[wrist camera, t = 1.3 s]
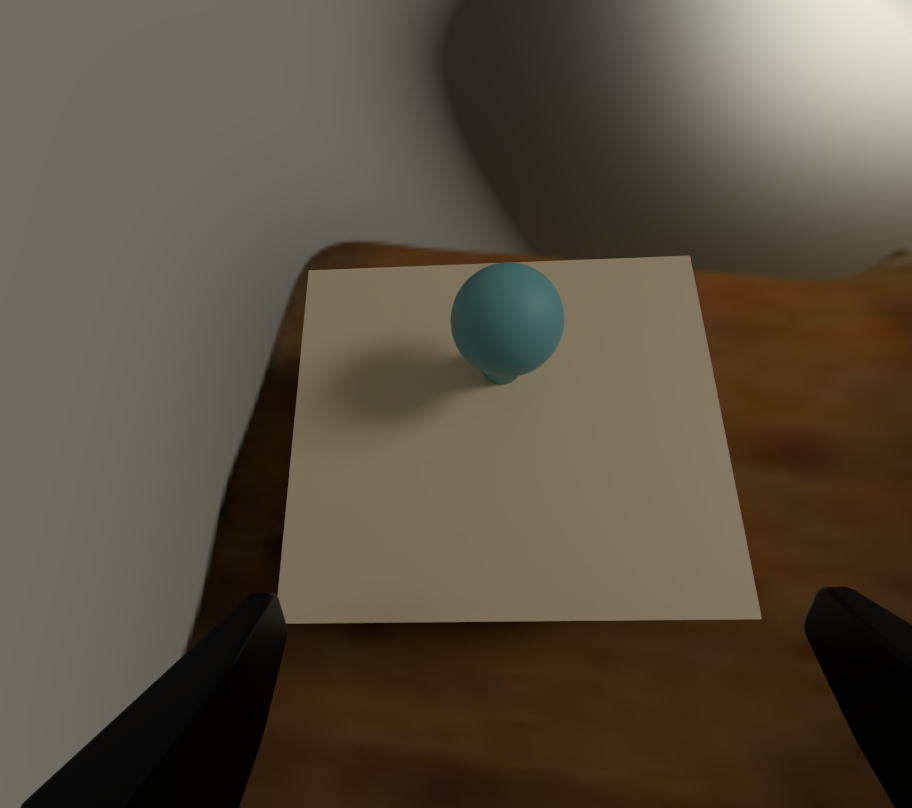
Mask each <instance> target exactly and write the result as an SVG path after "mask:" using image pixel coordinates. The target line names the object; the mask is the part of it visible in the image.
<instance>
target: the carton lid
mask: <svg viewBox="0 0 912 808" xmlns="http://www.w3.org/2000/svg"><path fill="white" fill-rule="evenodd" d="M278 598H279V601H280V604H281V608H282V611H283V614H284V618H285V621H286V624H298V623H403V622H508V621H614V620H719V619H762V618H761V613H760V608H759V603H758V598H757V592H756V587H755V582H754V577H753V572H752V567H751V562H750V557H749V552H748V547H747V542H746V537H745V532H744V527H743V522H742V517H741V512H740V507H739V501H738V496H737V491H736V486H735V481H734V476H733V471H732V466H731V461H730V456H729V451H728V446H727V441H726V436H725V431H724V426H723V421H722V416H721V410H720V405H719V400H718V395H717V390H716V385H715V380H714V375H713V370H712V365H711V360H710V355H709V350H708V345H707V340H706V335H705V330H704V325H703V319H702V314H701V309H700V304H699V299H698V294H697V289H696V284H695V279H694V274H693V269H692V264H691V259H690V256H671V257H645V258H619V259H593V260H567V261H542V262H516V263H513V262H505V263H490V264H464V265H439V266H413V267H387V268H361V269H336V270H310V271H309V274H308V285H307V295H306V306H305V316H304V326H303V337H302V347H301V357H300V368H299V378H298V389H297V399H296V409H295V420H294V430H293V441H292V451H291V461H290V472H289V482H288V492H287V503H286V513H285V524H284V534H283V544H282V555H281V565H280V575H279V586H278Z"/></svg>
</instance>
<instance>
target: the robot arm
mask: <svg viewBox="0 0 912 808" xmlns="http://www.w3.org/2000/svg"><path fill="white" fill-rule="evenodd" d="M804 629H805V633H806V636H807V639H808V641H809V643H810V645H811V647H812V649H813V651H814V654H815V656H816V658H817V660H818V662H819V664H820V666H821V668H822V671H823V673H824V675H825V677H826V679H827V681H828V683H829V685H830V687H831V690H832V692H833V694H834V696H835V698H836V700H837V702H838V704H839V707H840V709H841V711H842V713H843V715H844V717H845V719H846V721H847V723H848V725H849V727H850V729H851V731H852V733H853V735H854V737H855V739H856V741H857V743H858V744H859V746H860V748H861V750H862V752H863V753H864V755H865V757H866V759H867V760H868V762H869V764H870V766H871V767H872V769H873V771H874V772H875V774H876V776H877V778H878V779H879V781H880V783H881V784H882V786H883V788H884V790H885V791H886V793H887V795H888V797H889V798H890V800H891V802H892V803H893V805H894V807H895V808H912V625H911V624H909V623H907V622H906V621H904V620H903V619H901V618H899V617H898V616H896V615H894V614H893V613H891V612H889V611H888V610H886V609H884V608H883V607H881V606H880V605H878V604H876V603H875V602H873V601H871V600H870V599H868V598H866V597H865V596H863V595H861V594H860V593H858V592H857V591H855V590H853V589H850V588H847V587H823V588H820V589H819V590H818V591H817V592H816V594H815V596H814V599H813V601H812V603H811V605H810V608H809V610H808V612H807V615H806V617H805V620H804ZM286 637H287V625H286V621H285V618H284V614H283V611H282V608H281V604H280V601H279V598H278V596H277V595H276V594H274V593H255V594H252V595H250V596H248V597H247V598H246V599H245V600H244V601H243V602H241V603H240V604H239V605H238V606H237V607H236V608H235V609H234V610H233V611H232V612H231V613H229V614H228V615H227V616H226V617H225V618H224V619H223V620H222V621H221V622H220V623H219V624H217V625H216V626H215V627H214V628H213V629H212V630H211V631H210V632H209V633H208V634H207V635H205V636H204V637H203V638H202V639H201V640H200V641H199V642H198V643H197V644H196V645H195V646H194V647H192V648H191V649H190V650H189V651H188V652H187V653H186V654H185V655H184V656H183V657H182V658H180V659H179V660H178V661H177V662H176V663H175V664H174V665H173V666H172V667H171V668H170V669H168V670H167V671H166V672H165V673H164V674H163V675H162V676H161V677H160V678H159V679H158V680H157V681H155V682H154V683H153V684H152V685H151V686H150V687H149V688H148V689H147V690H146V691H144V692H143V693H142V694H141V695H140V696H139V697H138V698H137V699H136V700H135V701H134V702H133V703H132V704H130V706H128V707H127V708H126V709H125V710H124V711H123V712H122V713H121V714H119V715H118V716H117V717H116V718H115V719H114V720H113V721H112V722H111V723H110V724H109V725H107V726H106V727H105V728H104V729H103V730H102V731H101V732H100V733H99V734H98V735H97V736H96V737H94V738H93V739H92V740H91V741H90V742H89V743H88V744H87V745H86V746H85V747H84V748H82V749H81V750H80V751H79V752H78V753H77V754H76V755H75V756H74V757H73V758H72V759H70V760H69V762H67V763H66V764H65V765H64V766H63V767H62V768H61V769H60V770H59V771H57V772H56V773H55V774H54V775H53V776H52V777H51V778H50V779H49V780H48V781H46V782H45V783H44V784H43V785H42V786H41V787H40V788H39V789H38V790H37V791H36V792H35V793H33V794H32V795H31V796H30V797H29V798H28V799H27V800H26V801H25V802H24V803H23V804H22V805H21V808H239V806H240V803H241V800H242V797H243V794H244V791H245V788H246V785H247V782H248V779H249V776H250V773H251V771H252V768H253V765H254V762H255V759H256V756H257V753H258V750H259V747H260V743H261V740H262V737H263V733H264V730H265V726H266V722H267V718H268V714H269V710H270V705H271V701H272V697H273V693H274V689H275V684H276V680H277V676H278V672H279V668H280V663H281V659H282V655H283V651H284V647H285V642H286Z"/></svg>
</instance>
